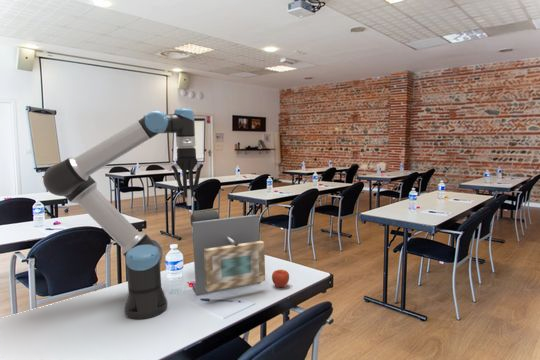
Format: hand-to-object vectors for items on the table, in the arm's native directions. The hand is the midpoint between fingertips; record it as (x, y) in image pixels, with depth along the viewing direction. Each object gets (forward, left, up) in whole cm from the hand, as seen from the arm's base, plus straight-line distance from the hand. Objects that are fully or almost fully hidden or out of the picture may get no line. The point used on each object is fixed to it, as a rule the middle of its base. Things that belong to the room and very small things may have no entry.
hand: (189, 205), depth 150 cm
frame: (+14, -15, -31) cm, 38 cm away
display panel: (+14, -5, -36) cm, 39 cm away
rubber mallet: (+10, +16, -37) cm, 41 cm away
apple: (+34, -14, -37) cm, 52 cm away
